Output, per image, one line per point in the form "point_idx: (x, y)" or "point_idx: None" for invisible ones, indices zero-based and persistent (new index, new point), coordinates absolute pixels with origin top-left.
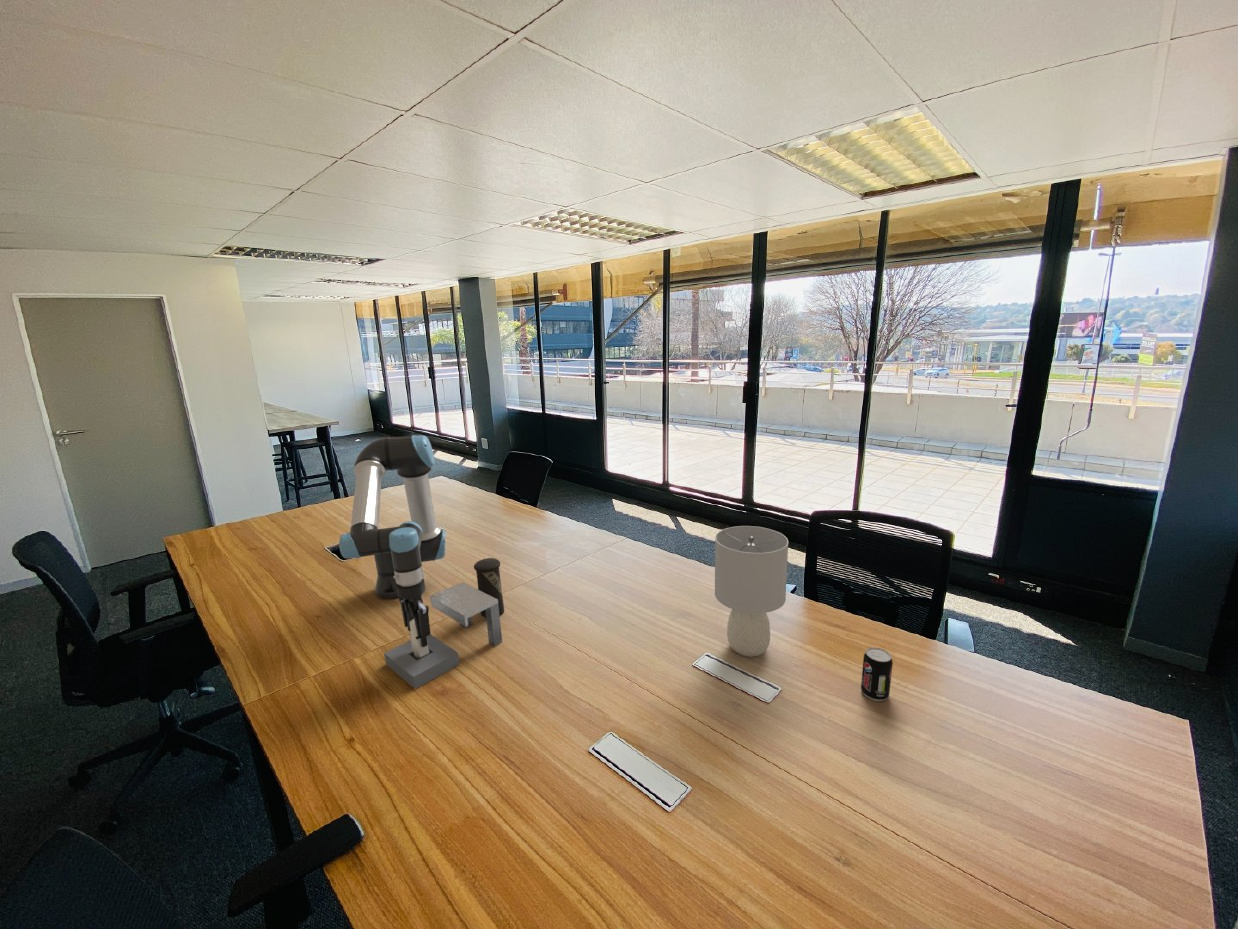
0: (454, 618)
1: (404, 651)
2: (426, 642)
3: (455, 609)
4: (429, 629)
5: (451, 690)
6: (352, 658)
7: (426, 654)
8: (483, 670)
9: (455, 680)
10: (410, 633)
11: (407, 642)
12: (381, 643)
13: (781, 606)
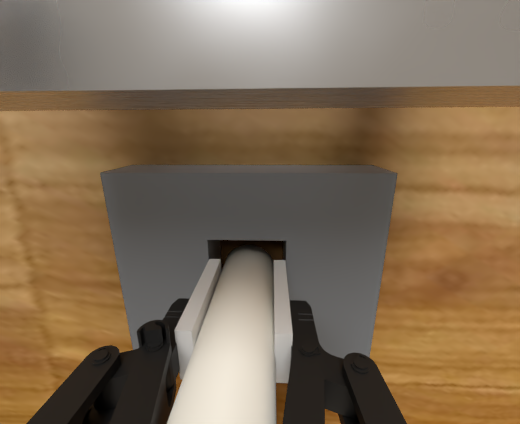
0: (359, 105)
1: None
2: (312, 319)
3: (471, 53)
4: (397, 410)
5: (466, 262)
6: (47, 356)
7: (270, 261)
8: (498, 124)
9: (437, 227)
10: None
11: (124, 271)
12: (13, 274)
13: None
